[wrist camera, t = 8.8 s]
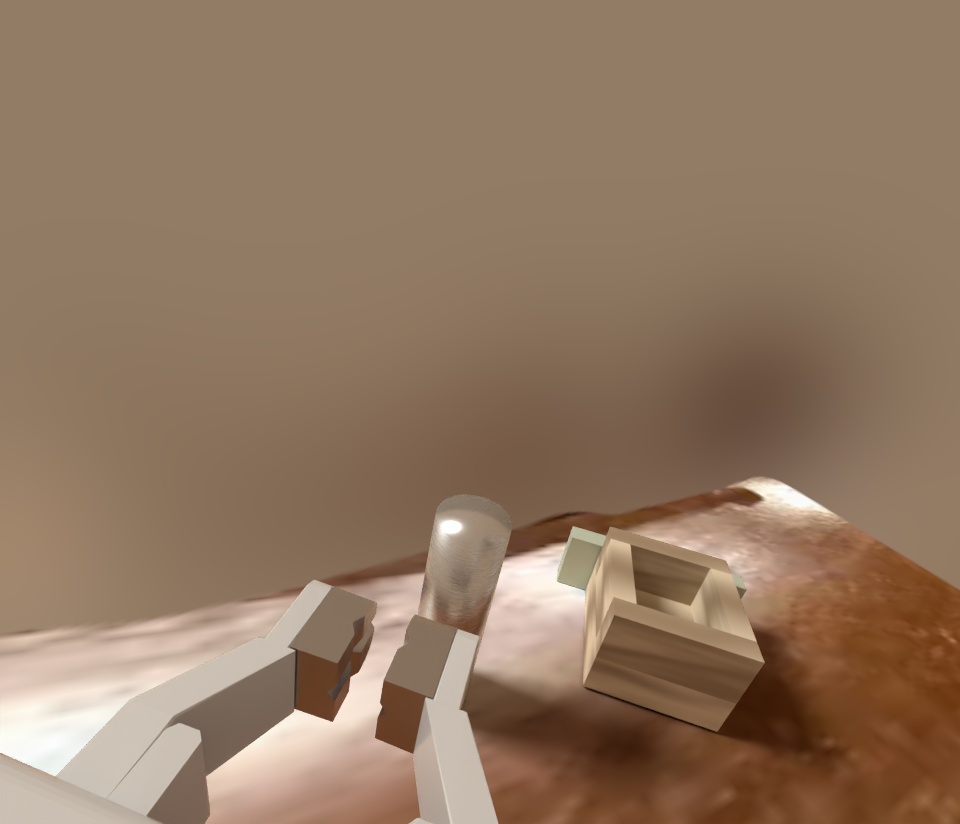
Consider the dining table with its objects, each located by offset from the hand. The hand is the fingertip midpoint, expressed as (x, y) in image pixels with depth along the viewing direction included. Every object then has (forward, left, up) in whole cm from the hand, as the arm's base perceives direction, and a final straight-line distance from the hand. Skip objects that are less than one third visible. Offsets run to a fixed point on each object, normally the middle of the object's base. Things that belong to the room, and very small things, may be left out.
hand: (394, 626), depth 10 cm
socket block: (-25, 0, -20) cm, 32 cm away
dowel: (-10, -7, -20) cm, 24 cm away
